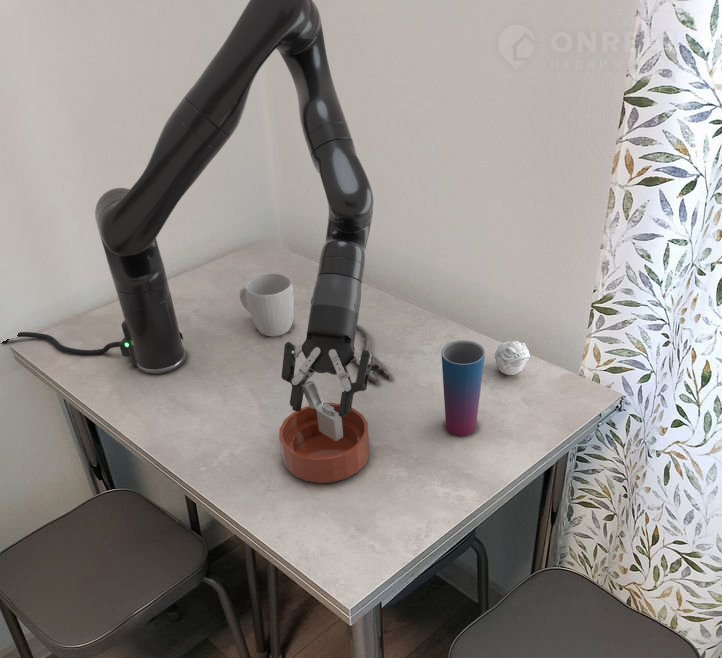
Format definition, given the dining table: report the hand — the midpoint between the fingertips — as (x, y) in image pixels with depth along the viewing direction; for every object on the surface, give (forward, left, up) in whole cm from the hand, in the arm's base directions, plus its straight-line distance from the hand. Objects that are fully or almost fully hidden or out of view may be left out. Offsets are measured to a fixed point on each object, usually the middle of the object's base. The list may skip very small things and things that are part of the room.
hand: (319, 413), depth 125 cm
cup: (+20, +13, -10) cm, 26 cm away
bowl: (0, +1, -10) cm, 10 cm away
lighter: (0, +2, -5) cm, 5 cm away
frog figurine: (+26, +30, -10) cm, 41 cm away
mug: (-24, +37, -10) cm, 46 cm away
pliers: (-2, +31, -10) cm, 33 cm away
